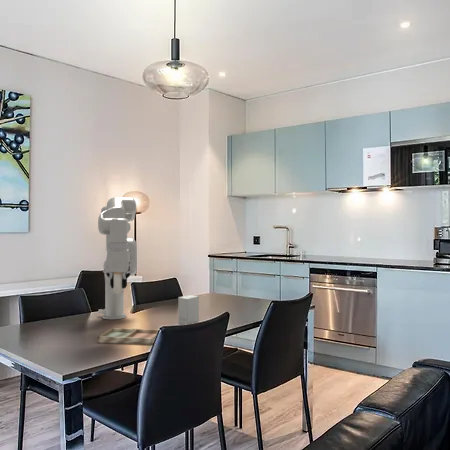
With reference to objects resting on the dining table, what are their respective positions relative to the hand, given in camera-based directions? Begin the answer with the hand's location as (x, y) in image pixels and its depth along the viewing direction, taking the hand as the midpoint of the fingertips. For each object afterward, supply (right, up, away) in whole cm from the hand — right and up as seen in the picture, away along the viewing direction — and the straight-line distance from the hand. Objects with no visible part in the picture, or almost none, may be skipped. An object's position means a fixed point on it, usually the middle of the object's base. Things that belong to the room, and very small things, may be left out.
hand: (118, 287), depth 203 cm
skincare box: (+29, -23, +18) cm, 41 cm away
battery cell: (0, -2, 0) cm, 2 cm away
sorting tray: (+6, -22, -1) cm, 23 cm away
